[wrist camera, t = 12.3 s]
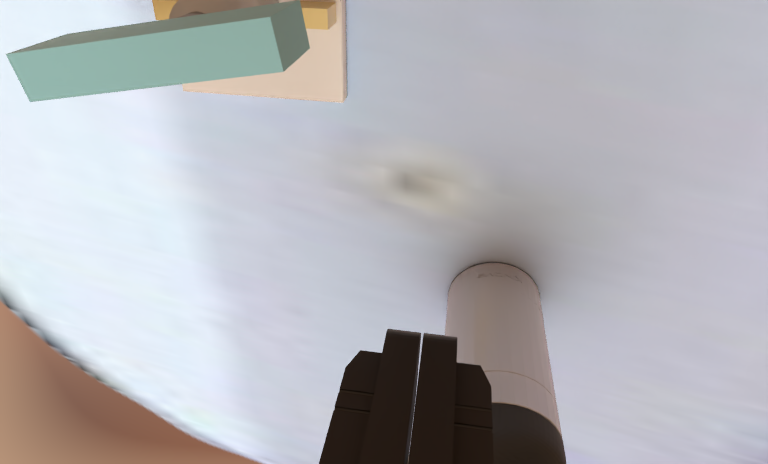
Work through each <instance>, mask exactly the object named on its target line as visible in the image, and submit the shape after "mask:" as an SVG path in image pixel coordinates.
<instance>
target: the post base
mask: <svg viewBox="0 0 768 464" xmlns="http://www.w3.org/2000/svg"><path fill="white" fill-rule="evenodd" d="M289 1H296V0H152V2H153V7H154V12H155V17H156V20H166V19H173V18H177V17H180V16H183V15H185V14H188V13H190V12H202V13H204V14H207V13H214V12H221V11H228V10H234V9H241V8H248V7H255V6H262V5H268V4H275V3H282V2H289ZM300 3H301V8H302V13H303V17H304V22H305V27H306V31H307V36H308V41H309V45H310V49H309V50H308V51H306V52H305V53H304V54H303V55H302V56H301V57H300V58H299V59H297V60H296V61H295V62H294V63H293V64H292V65H291V66H290V67H289V68H287V69H286V70H285V71H284V72H279V73H270V74H262V75H254V76H245V77H237V78H228V79H220V80H211V81H203V82H194V83H186V84H182V85H183V91H189V92H203V93H216V94H230V95H244V96H258V97H271V98H285V99H299V100H313V101H326V102H340V103H343V102H344V101H345V99H346V98H347V69H346V0H300Z"/></svg>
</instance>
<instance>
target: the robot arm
mask: <svg viewBox="0 0 768 464" xmlns="http://www.w3.org/2000/svg"><path fill="white" fill-rule="evenodd" d="M420 340H421V333H418V332H410V331H401V330H393V329H388V330H387V333H386V338H385V343H384V347H383V352H382V353H377V352H369V351H361V350H360V352H359V353H358V354H357V355H356V356H355V357H354V358H353V360H352V361H351V362H350V363H349V364H348V365H347V367H346V368H345V372H344V375H343V379H342V383H341V386H340V392H339V393H338V397H337V401H336V404H335V410H334V411H333V415H332V419H331V422H330V426H329V429H328V433H327V437H326V440H325V444H324V447H323V451H322V455H321V458H320V462H319V464H566V457H565V451H564V445H563V440H562V434H561V428H560V422H559V415H558V409H557V404H556V398H555V391H554V385H553V379H552V372H551V366H550V359H549V353H548V347H547V340H546V334H545V328H544V321H543V314H542V308H541V302H540V295H539V291H538V288H537V286H536V284H535V283H534V281H533V279H531V278H530V277H529V276H528V275H527V274H526V273H525V272H523V271H522V270H520V269H518V268H516V267H513V266H511V265H507V264H501V263H485V264H479V265H476V266H473V267H470V268H469V269H467V270H465V271H463V272H462V273H461V274H460V275H458V276H457V277H456V278H455V280H454V281H453V282H452V284H451V286H450V289H449V292H448V302H447V315H446V327H445V336H444V335H436V334H428V333H424V336H423V344H422V352H421V361H420V369H419V377H418V386H417V376H418V364H419V352H420ZM416 387H417V394H416ZM415 397H416V402H415ZM414 407H415V411H414ZM413 415H414V419H413ZM412 423H413V427H412ZM411 431H412V436H411ZM410 440H411V444H410ZM409 448H410V452H409ZM408 456H409V461H408Z"/></svg>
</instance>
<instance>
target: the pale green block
mask: <svg viewBox="0 0 768 464" xmlns="http://www.w3.org/2000/svg"><path fill="white" fill-rule="evenodd" d="M309 49H310V45H309V41H308V36H307V31H306V27H305V22H304V17H303V13H302V8H301V3H300V0H296V1H289V2H282V3H275V4H268V5H262V6H255V7H248V8H241V9H234V10H228V11H221V12H214V13H207V14H204V13H202V12H190V13H188V14H185V15H183V16H180V17H177V18H173V19H166V20H159V21H153V22H146V23H139V24H132V25H125V26H119V27H112V28H105V29H98V30H91V31H85V32H78V33H71V34H66V35H63V36H60V37H57V38H54V39H51V40H48V41H45V42H42V43H39V44H36V45H32V46H29V47H26V48H23V49H20V50H17V51H14V52H11V53H8V54H6V55H7V57H8V59H9V61H10V63H11V65H12V67H13V69H14V71H15V73H16V75H17V77H18V79H19V81H20V83H21V85H22V87H23V89H24V91H25V93H26V95H27V97H28V99H29V101H30V102H34V101H42V100H51V99H59V98H67V97H76V96H84V95H93V94H101V93H110V92H118V91H127V90H135V89H144V88H152V87H161V86H169V85H177V84H186V83H194V82H203V81H211V80H220V79H228V78H237V77H245V76H254V75H262V74H270V73H279V72H284V71H285V70H286V69H287V68H289V67H290V66H291V65H292V64H293V63H294V62H295V61H296V60H297V59H299V58H300V57H301V56H302V55H303V54H304V53H305V52H306V51H308V50H309Z"/></svg>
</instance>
